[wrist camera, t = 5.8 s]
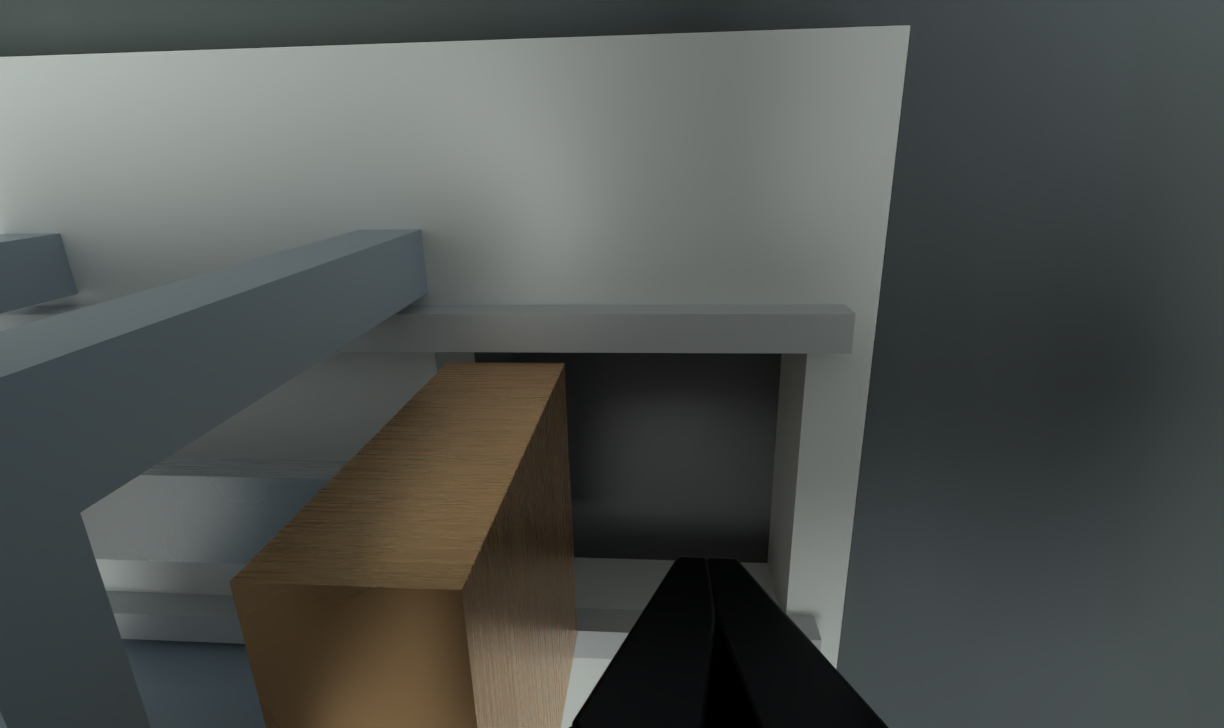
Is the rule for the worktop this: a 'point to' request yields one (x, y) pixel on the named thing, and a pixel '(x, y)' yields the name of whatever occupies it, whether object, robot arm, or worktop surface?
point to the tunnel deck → (432, 312)
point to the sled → (390, 558)
